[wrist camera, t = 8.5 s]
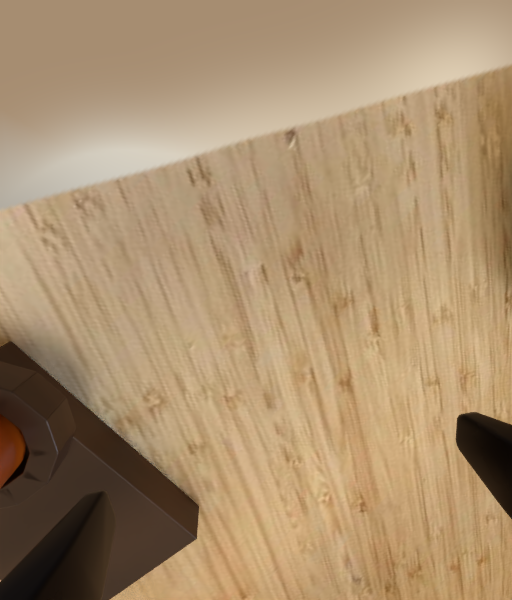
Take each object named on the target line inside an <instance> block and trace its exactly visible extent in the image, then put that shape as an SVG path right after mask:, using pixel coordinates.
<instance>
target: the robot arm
mask: <svg viewBox="0 0 512 600" xmlns="http://www.w3.org/2000/svg"><path fill="white" fill-rule="evenodd" d="M456 443H457V446H458V448H459V450H460V452H461V453H462V454H463V456H464V457H465V458H466V460H467V461H468V462H469V464H470V465H471V466H472V468H473V469H474V470H475V472H476V473H477V474H478V476H479V477H480V478H481V480H482V481H483V482H484V484H485V485H486V487H487V488H488V489H489V491H490V492H491V493H492V495H493V496H494V497H495V499H496V500H497V501H498V503H499V504H500V505H501V506H502V508H503V509H504V510H505V512H506V513H507V514H508V515H509V516H510V518H511V519H512V425H510V424H507V423H505V422H502V421H499V420H496V419H494V418H491V417H488V416H485V415H482V414H480V413H477V412H470V413H465V414H461V415H459V416H458V418H457V429H456ZM115 527H116V516H115V512H114V509H113V507H112V504H111V501H110V498H109V495H108V493H107V492H106V491H105V490H101V491H96V492H91V493H88V494H86V495H85V496H84V497H83V498H82V499H81V500H80V501H79V502H78V503H77V504H76V505H75V506H74V507H73V508H72V509H71V510H70V511H69V512H68V513H67V514H66V515H65V516H64V517H63V518H62V519H61V520H60V521H59V522H58V523H57V524H56V525H55V526H54V527H53V528H52V529H51V530H50V531H49V532H48V533H47V535H46V536H45V537H44V538H43V539H42V540H41V541H40V542H39V543H38V544H37V545H36V546H35V547H34V548H33V549H32V550H31V551H30V552H29V553H28V554H27V555H26V556H25V557H24V558H23V559H22V560H21V561H20V562H19V563H18V564H17V565H16V566H15V567H14V568H13V569H12V570H11V571H10V572H9V573H8V574H7V575H6V577H5V578H4V579H3V580H2V581H1V582H0V600H102V595H103V590H104V585H105V580H106V574H107V569H108V564H109V559H110V554H111V548H112V543H113V538H114V533H115Z"/></svg>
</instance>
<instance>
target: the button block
mask: <svg viewBox="0 0 512 600" xmlns="http://www.w3.org/2000/svg"><path fill="white" fill-rule="evenodd" d="M0 414H1V415H3V416H4V417H5V418H6V419H8V420H9V421H10V422H12V423H13V424H14V425H15V426H17V427H18V428H19V429H20V430H21V432H22V434H23V437H24V439H25V443H26V452H25V456H24V458H23V461H22V462H21V464H20V465H19V466H18V468H17V469H16V470H15V471H14V473H13V474H12V475H11V476H10V477H9V479H8V480H7V481H6V482H5V483H4V485H3V486H2V487H1V488H0V580H3V579H4V578H5V577H6V575H7V574H8V573H9V572H10V571H11V570H12V569H13V568H14V567H15V566H16V565H17V564H18V563H19V562H20V561H21V560H22V559H23V558H24V557H25V556H26V555H27V554H28V553H29V552H30V551H31V550H32V549H33V548H34V547H35V546H36V545H37V544H38V543H39V542H40V541H41V540H42V539H43V538H44V537H45V536H46V535H47V533H48V532H49V531H50V530H51V529H52V528H53V527H54V526H55V525H56V524H57V523H58V522H59V521H60V520H61V519H62V518H63V517H64V516H65V515H66V514H67V513H68V512H69V511H70V510H71V509H72V508H73V507H74V506H75V505H76V504H77V503H78V502H79V501H80V500H81V499H82V498H83V497H84V496H85V495H86V494H88V493H91V492H96V491H101V490H105V491H106V492H107V493H108V495H109V498H110V501H111V504H112V507H113V509H114V512H115V516H116V527H115V533H114V538H113V543H112V548H111V554H110V559H109V564H108V569H107V574H106V580H105V585H104V590H103V595H102V600H110V599H111V598H112V597H114V596H115V595H117V594H118V593H120V592H121V591H123V590H124V589H125V588H127V587H128V586H130V585H131V584H133V583H134V582H135V581H137V580H138V579H140V578H141V577H143V576H144V575H145V574H147V573H148V572H150V571H151V570H153V569H154V568H155V567H157V566H158V565H160V564H161V563H163V562H164V561H166V560H167V559H168V558H170V557H171V556H173V555H174V554H176V553H177V552H178V551H180V550H181V549H183V548H184V547H186V546H187V545H188V544H190V543H191V542H193V541H194V540H196V539H197V528H198V513H199V506H198V505H197V504H196V503H195V502H193V501H192V500H191V499H190V498H189V497H188V496H187V495H185V494H184V493H183V492H182V491H181V490H180V489H179V488H177V487H176V486H175V485H174V484H173V483H172V482H171V481H169V480H168V479H167V478H166V477H165V476H164V475H163V474H162V473H160V472H159V471H158V470H157V469H156V468H155V467H154V466H152V465H151V464H150V463H149V462H148V461H147V460H146V459H144V458H143V457H142V456H141V455H140V454H139V453H138V452H136V451H135V450H134V449H133V448H132V447H131V446H130V445H129V444H127V443H126V442H125V441H124V440H123V439H122V438H121V437H119V436H118V435H117V434H116V433H115V432H114V431H113V430H111V429H110V428H109V427H108V426H107V425H106V424H105V423H103V422H102V421H101V420H100V419H99V418H98V417H97V416H96V415H94V414H93V413H92V412H91V411H90V410H89V409H88V408H86V407H85V406H84V405H83V404H82V403H81V402H80V401H78V400H77V399H76V398H75V397H74V396H73V395H72V394H70V393H69V392H68V391H67V390H66V389H65V388H64V387H62V386H61V385H60V384H59V383H58V382H57V381H56V380H55V379H53V378H52V377H51V376H50V375H49V374H48V373H47V372H45V371H44V370H43V369H42V368H41V367H40V366H39V365H37V364H36V363H35V362H34V361H33V360H32V359H31V358H29V357H28V356H27V355H26V354H25V353H24V352H23V351H22V350H20V349H19V348H18V347H17V346H16V345H15V344H14V343H12V342H8V343H7V344H5V345H3V346H1V347H0Z"/></svg>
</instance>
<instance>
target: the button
mask: <svg viewBox="0 0 512 600" xmlns="http://www.w3.org/2000/svg"><path fill="white" fill-rule="evenodd" d="M25 452H26V443H25V439H24V437H23V434H22V432H21V430H20V429H19V428H18V427H17V426H15V425H14V424H13V423H12V422H10V421H9V420H8V419H6V418H5V417H4V416H3V415H1V414H0V488H1V487H2V486H3V485H4V483H5V482H6V481H7V480H8V479H9V477H10V476H11V475H12V474H13V473H14V471H15V470H16V469H17V468H18V466H19V465H20V464H21V462H22V461H23V458H24V456H25Z"/></svg>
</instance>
